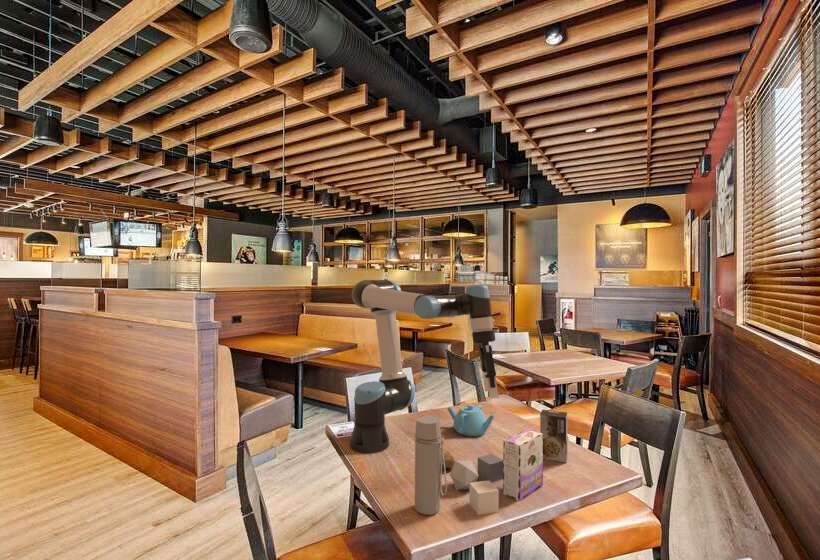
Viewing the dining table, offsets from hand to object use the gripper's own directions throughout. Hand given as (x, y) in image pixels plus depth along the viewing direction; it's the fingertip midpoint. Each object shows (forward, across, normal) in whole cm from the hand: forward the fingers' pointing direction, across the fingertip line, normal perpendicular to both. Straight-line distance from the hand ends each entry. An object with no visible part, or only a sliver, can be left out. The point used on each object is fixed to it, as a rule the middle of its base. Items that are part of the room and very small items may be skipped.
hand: (491, 394), depth 136 cm
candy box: (+28, -8, -5) cm, 30 cm away
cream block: (+27, -19, +8) cm, 34 cm away
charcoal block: (+26, 0, +4) cm, 26 cm away
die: (+26, -8, +13) cm, 30 cm away
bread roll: (+24, +5, +20) cm, 32 cm away
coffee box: (+28, +17, -21) cm, 38 cm away
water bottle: (+26, -21, +23) cm, 41 cm away
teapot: (+22, +40, +7) cm, 46 cm away
